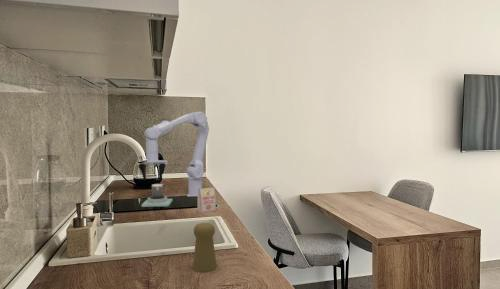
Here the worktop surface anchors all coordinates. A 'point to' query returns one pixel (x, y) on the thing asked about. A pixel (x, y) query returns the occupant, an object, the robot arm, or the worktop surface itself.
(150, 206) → the plate
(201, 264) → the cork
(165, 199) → the collar mount
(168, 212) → the worktop surface
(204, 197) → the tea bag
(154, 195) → the lens barrel
